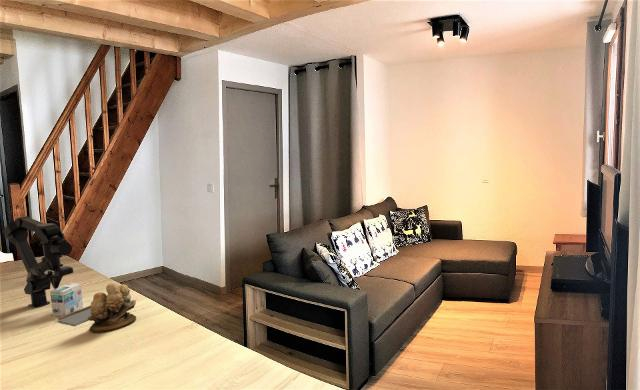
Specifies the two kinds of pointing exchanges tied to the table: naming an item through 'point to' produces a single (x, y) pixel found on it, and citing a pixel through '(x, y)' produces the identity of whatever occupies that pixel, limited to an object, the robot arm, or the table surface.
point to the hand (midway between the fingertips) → (56, 288)
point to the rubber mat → (77, 318)
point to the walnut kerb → (74, 312)
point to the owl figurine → (111, 309)
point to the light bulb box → (66, 299)
